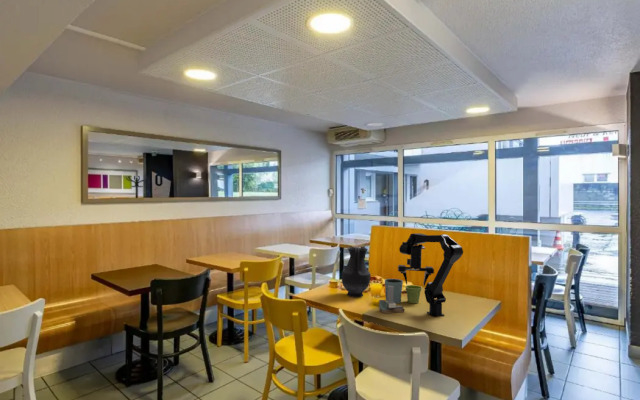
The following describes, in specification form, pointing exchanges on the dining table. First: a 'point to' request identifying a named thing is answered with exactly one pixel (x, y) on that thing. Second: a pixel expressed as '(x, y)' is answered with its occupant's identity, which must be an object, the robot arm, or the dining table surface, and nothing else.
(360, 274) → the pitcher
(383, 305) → the rail bed
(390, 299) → the carriage
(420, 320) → the dining table surface
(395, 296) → the drinking glass
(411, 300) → the plant pot
